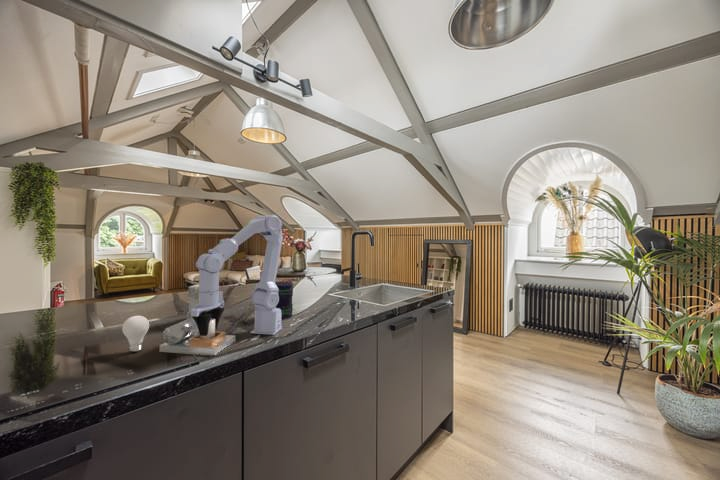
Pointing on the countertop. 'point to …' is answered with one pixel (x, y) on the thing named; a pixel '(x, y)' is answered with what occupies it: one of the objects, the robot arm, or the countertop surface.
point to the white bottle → (210, 330)
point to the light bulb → (135, 331)
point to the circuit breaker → (197, 298)
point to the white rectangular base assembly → (193, 340)
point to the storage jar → (285, 299)
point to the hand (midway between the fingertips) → (208, 332)
